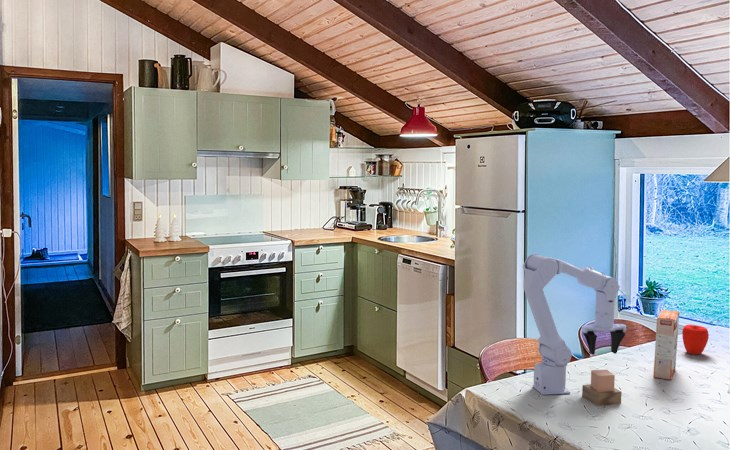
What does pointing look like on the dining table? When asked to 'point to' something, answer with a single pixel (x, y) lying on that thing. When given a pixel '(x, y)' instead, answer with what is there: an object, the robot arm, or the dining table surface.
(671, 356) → the cracker box
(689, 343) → the apple
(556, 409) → the dining table surface
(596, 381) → the terracotta block
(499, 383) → the dining table surface
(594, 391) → the walnut base
